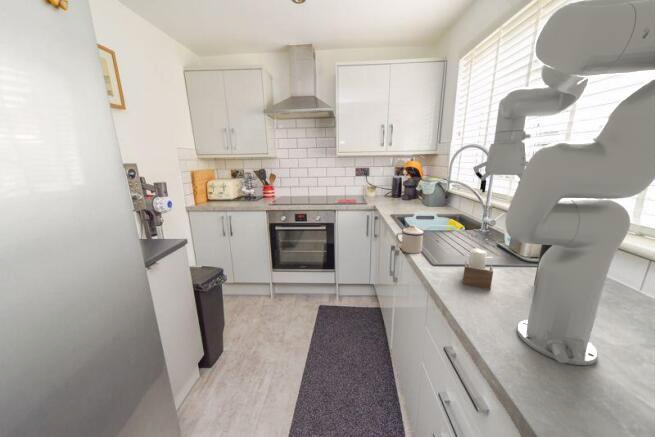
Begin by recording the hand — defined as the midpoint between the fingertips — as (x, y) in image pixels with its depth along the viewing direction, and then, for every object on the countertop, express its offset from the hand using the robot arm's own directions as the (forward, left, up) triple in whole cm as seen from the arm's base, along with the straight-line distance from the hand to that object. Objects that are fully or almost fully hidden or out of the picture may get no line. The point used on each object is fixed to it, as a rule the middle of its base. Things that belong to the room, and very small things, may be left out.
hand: (500, 192), depth 79 cm
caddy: (-12, +4, -28) cm, 31 cm away
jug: (-1, +4, -28) cm, 29 cm away
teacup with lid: (+10, +30, -28) cm, 43 cm away
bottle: (-5, -15, -28) cm, 33 cm away
